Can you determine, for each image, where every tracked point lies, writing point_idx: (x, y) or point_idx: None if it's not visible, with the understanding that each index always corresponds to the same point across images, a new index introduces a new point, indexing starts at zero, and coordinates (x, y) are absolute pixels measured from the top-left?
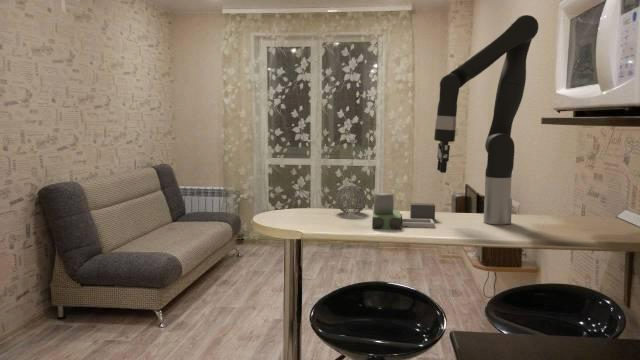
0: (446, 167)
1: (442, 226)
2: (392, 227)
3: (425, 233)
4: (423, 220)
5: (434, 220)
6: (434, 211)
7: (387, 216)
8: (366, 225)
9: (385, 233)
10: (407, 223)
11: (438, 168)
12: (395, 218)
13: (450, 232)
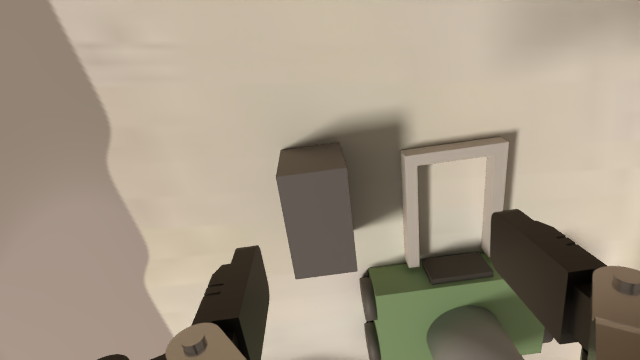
0: (551, 234)
1: (469, 105)
2: None
3: (610, 163)
4: (415, 188)
5: (338, 143)
6: (343, 158)
7: (530, 314)
8: None
9: None
10: None
11: (264, 299)
12: None
13: (597, 69)
